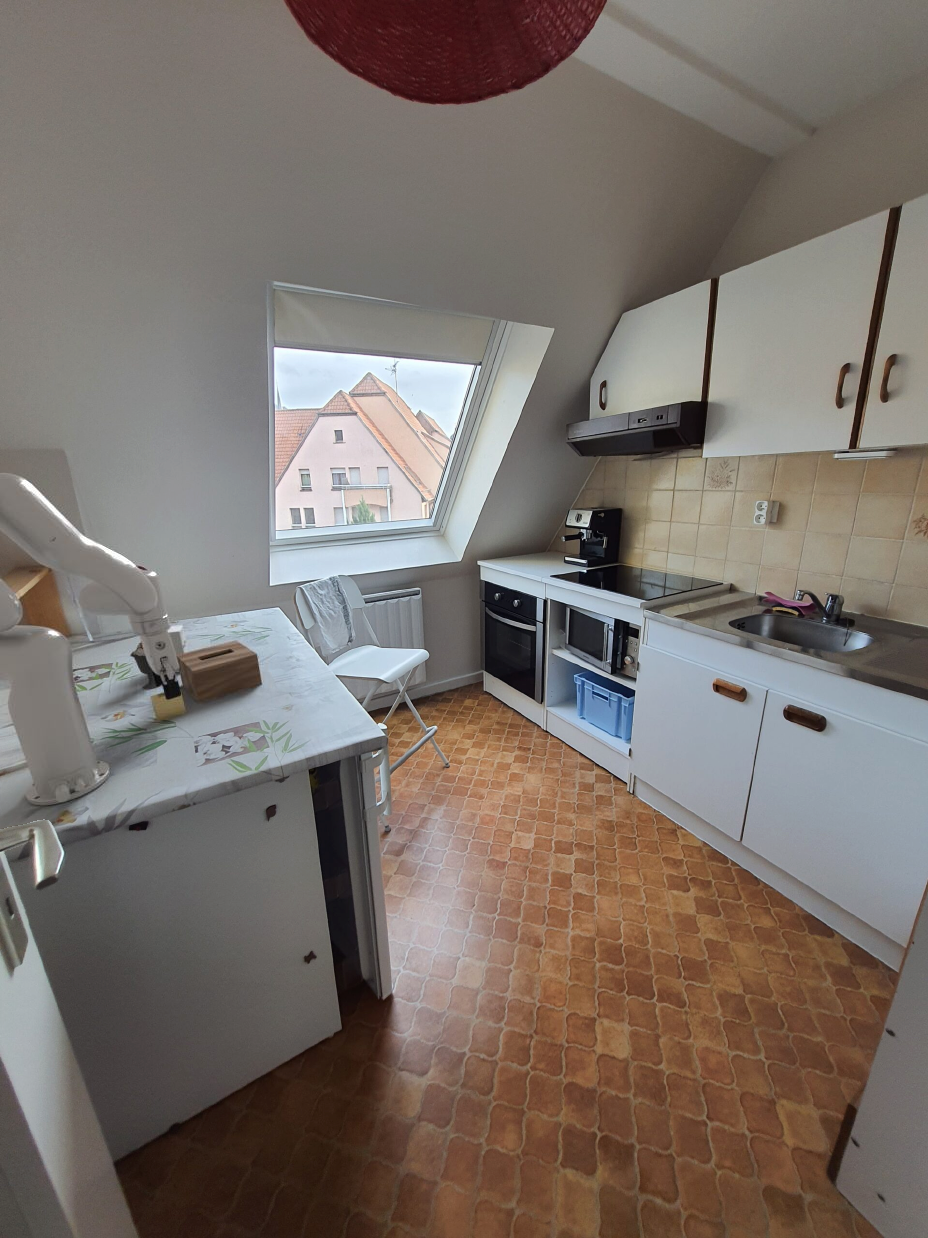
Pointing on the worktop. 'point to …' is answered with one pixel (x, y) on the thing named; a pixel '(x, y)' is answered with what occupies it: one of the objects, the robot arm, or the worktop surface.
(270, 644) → the worktop surface
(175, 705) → the tan rectangular block
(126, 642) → the worktop surface
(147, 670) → the sundae
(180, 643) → the supplement box
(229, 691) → the brown slotted wooden box
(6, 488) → the robot arm
